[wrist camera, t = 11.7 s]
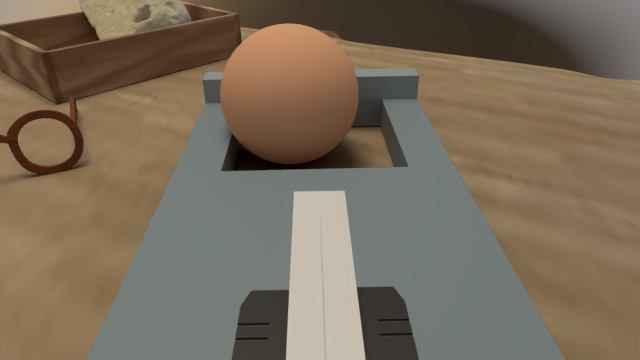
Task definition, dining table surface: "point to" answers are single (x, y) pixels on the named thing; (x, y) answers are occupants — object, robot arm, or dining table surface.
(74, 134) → the glasses
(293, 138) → the ball
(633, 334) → the dining table surface
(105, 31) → the beige irregular lump
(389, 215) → the grey rectangular frame
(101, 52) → the wooden tray
